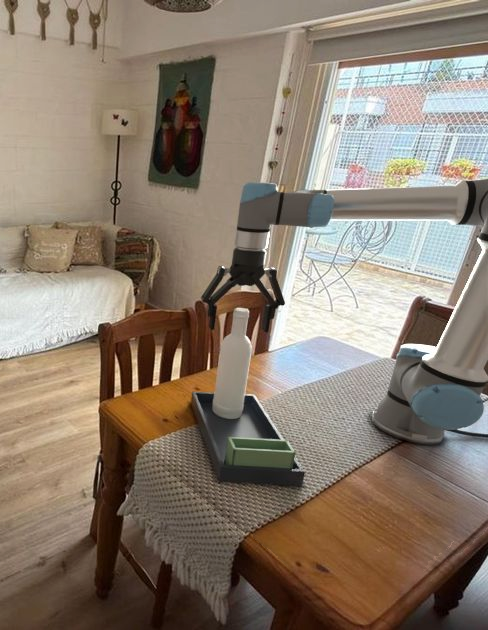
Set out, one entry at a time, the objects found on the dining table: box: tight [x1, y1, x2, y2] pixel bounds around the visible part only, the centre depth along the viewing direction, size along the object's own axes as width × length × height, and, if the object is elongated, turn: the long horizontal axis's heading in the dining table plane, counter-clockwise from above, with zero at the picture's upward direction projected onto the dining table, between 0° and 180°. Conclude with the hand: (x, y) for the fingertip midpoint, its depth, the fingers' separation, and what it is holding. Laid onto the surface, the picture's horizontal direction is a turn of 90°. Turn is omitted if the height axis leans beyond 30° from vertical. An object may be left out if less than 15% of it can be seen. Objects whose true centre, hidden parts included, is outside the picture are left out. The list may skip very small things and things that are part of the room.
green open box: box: [224, 437, 296, 469], centre depth 97 cm, size 5×13×7 cm, turn 85°
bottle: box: [212, 307, 253, 419], centre depth 117 cm, size 8×8×30 cm
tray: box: [190, 391, 306, 487], centre depth 111 cm, size 34×18×4 cm, turn 175°
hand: (237, 329), depth 114 cm, fingers open, 13 cm apart
